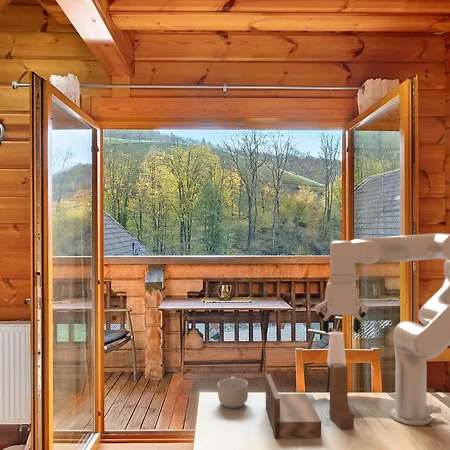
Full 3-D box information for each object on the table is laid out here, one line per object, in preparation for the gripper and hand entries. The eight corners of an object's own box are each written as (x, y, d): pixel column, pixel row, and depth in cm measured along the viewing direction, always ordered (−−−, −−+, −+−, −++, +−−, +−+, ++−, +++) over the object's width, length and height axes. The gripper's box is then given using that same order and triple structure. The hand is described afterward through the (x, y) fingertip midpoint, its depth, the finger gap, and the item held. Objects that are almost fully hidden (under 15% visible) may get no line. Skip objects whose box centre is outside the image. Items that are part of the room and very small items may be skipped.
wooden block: (354, 428, 144) (354, 371, 144) (340, 429, 144) (341, 372, 143) (341, 416, 153) (342, 362, 153) (329, 417, 152) (329, 363, 152)
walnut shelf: (305, 407, 160) (305, 373, 160) (321, 438, 138) (321, 398, 138) (265, 408, 160) (265, 373, 159) (274, 438, 138) (275, 398, 137)
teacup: (245, 412, 156) (245, 389, 156) (214, 409, 158) (214, 386, 158) (251, 397, 170) (251, 375, 170) (222, 394, 172) (222, 373, 172)
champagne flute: (345, 395, 171) (345, 331, 171) (346, 402, 165) (346, 335, 164) (326, 394, 172) (327, 330, 172) (327, 401, 166) (327, 334, 166)
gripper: (364, 277, 152) (363, 329, 152) (312, 277, 151) (311, 329, 151) (372, 280, 144) (371, 335, 144) (317, 280, 144) (317, 335, 144)
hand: (341, 332), depth 148 cm, fingers open, 9 cm apart
